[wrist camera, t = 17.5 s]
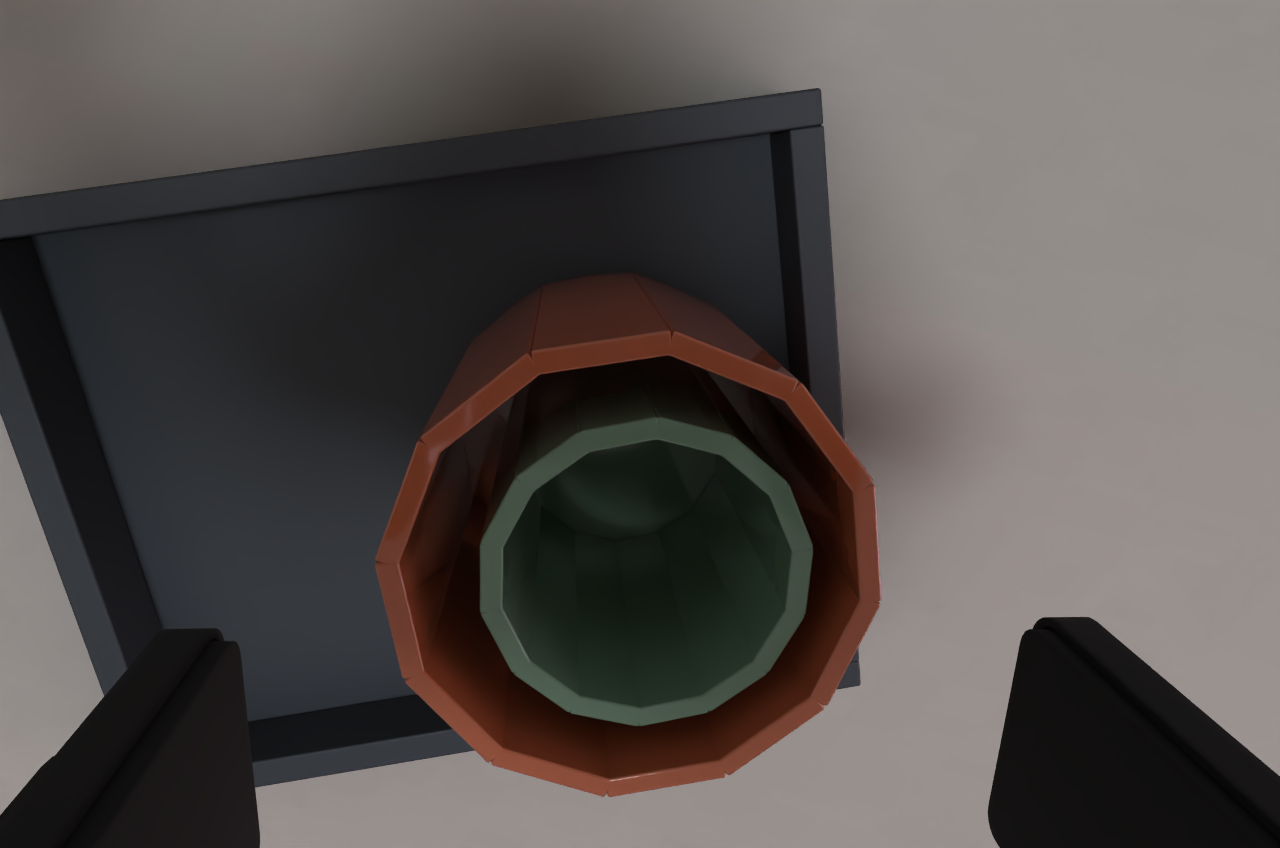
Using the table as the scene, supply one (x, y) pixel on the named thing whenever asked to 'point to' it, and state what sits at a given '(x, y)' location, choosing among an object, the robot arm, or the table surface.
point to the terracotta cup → (457, 507)
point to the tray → (351, 370)
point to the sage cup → (639, 544)
